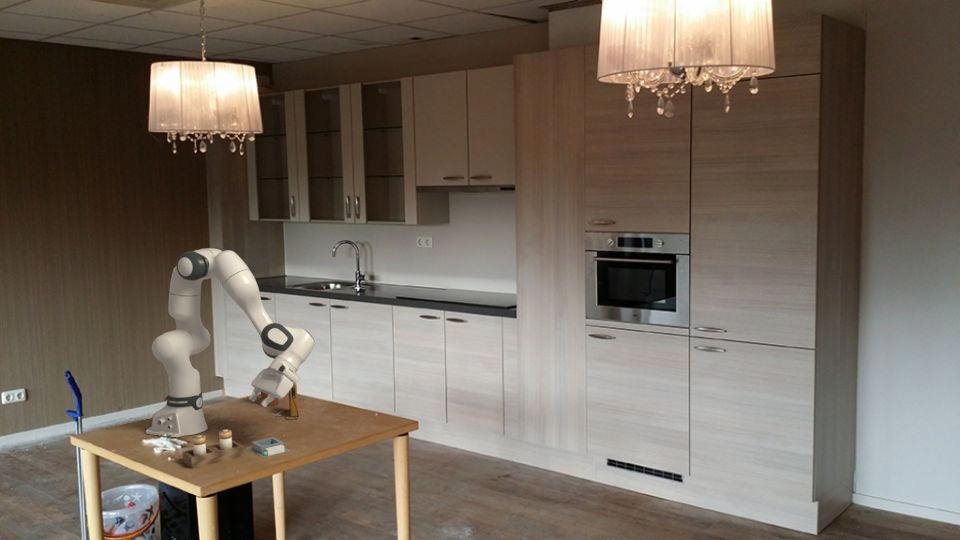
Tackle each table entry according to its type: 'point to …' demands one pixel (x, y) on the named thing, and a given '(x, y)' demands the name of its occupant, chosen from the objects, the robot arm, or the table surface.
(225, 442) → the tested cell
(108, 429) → the table surface
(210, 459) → the rack
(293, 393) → the multimeter
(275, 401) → the disposable coffee cup
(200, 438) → the cell
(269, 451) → the checker
